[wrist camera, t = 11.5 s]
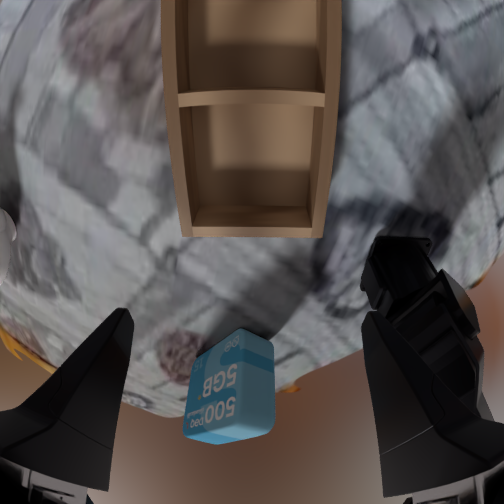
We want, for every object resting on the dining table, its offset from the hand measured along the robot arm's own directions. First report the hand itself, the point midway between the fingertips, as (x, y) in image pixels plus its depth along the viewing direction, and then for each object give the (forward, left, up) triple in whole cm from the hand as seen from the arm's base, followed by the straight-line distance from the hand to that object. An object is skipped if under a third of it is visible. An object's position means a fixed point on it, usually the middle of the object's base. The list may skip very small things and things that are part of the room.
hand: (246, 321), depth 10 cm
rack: (0, -11, -13) cm, 17 cm away
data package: (+3, +23, -13) cm, 27 cm away
